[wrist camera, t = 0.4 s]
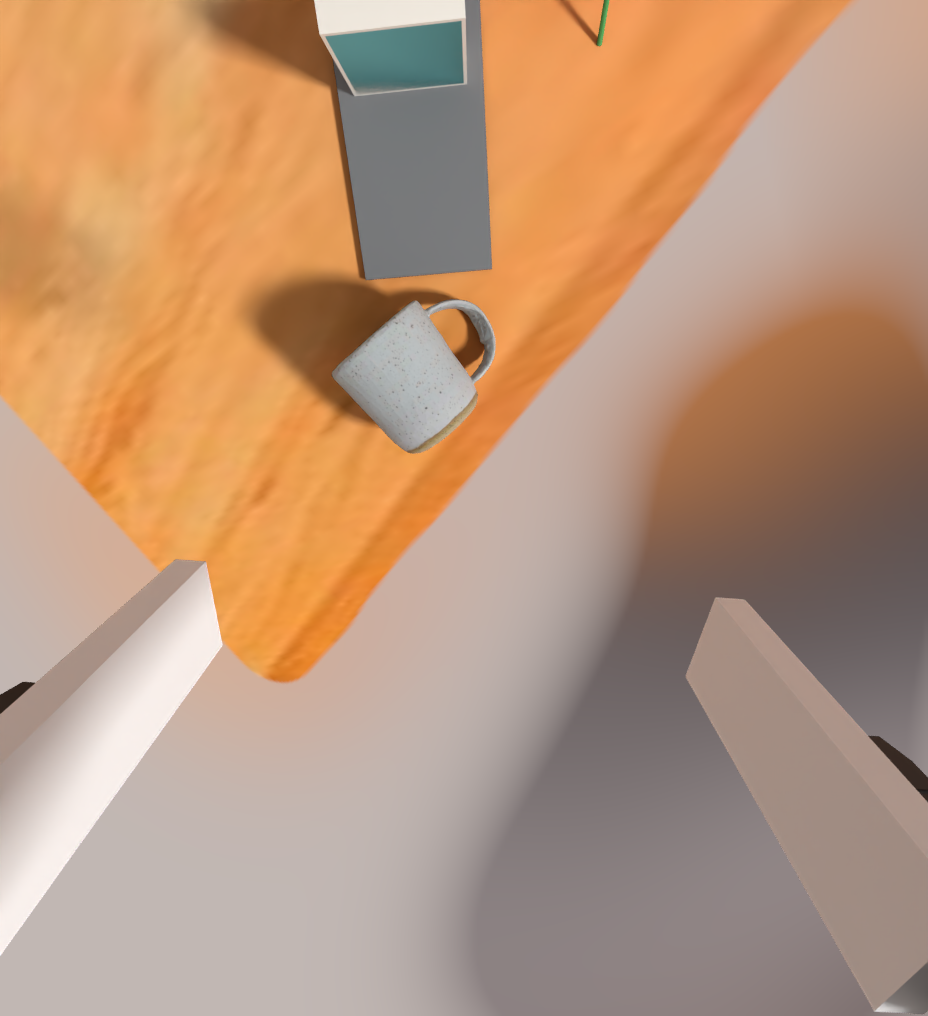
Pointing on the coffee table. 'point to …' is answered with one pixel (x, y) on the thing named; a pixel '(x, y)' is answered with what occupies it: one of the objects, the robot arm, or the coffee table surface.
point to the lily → (602, 22)
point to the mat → (421, 172)
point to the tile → (395, 43)
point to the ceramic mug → (415, 376)
